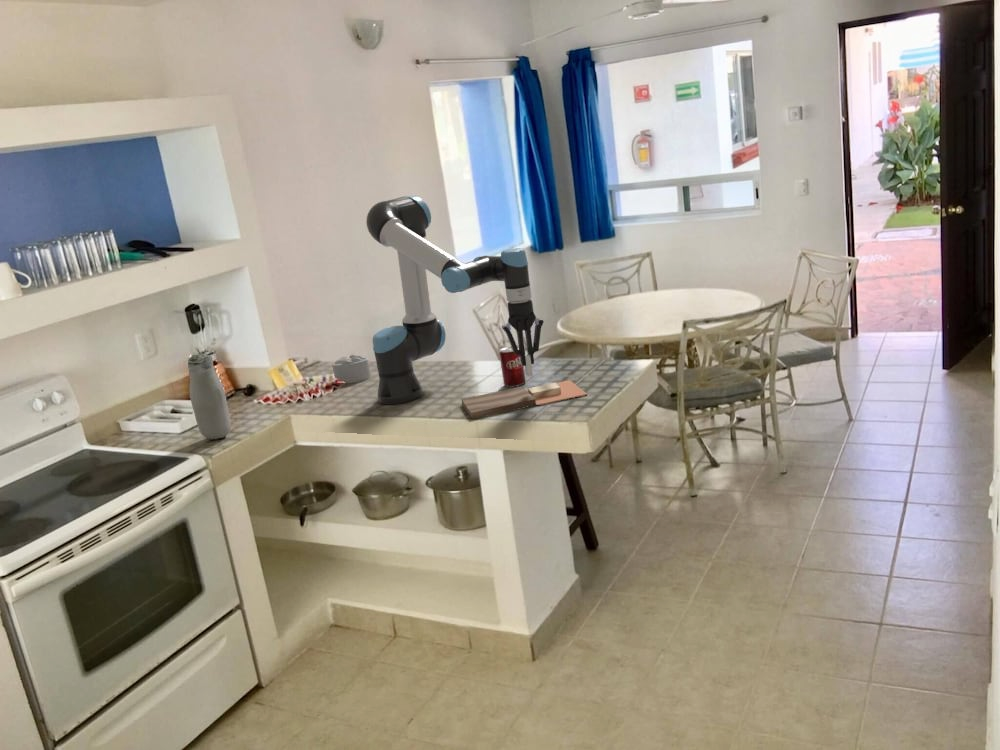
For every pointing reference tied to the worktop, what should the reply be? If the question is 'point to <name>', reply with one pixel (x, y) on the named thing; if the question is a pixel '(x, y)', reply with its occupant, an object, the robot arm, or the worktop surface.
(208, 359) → the grey vase
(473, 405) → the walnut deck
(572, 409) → the worktop surface
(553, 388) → the birch tile
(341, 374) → the lumpy-topped squat cylinder
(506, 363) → the soda can
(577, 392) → the terracotta mat
